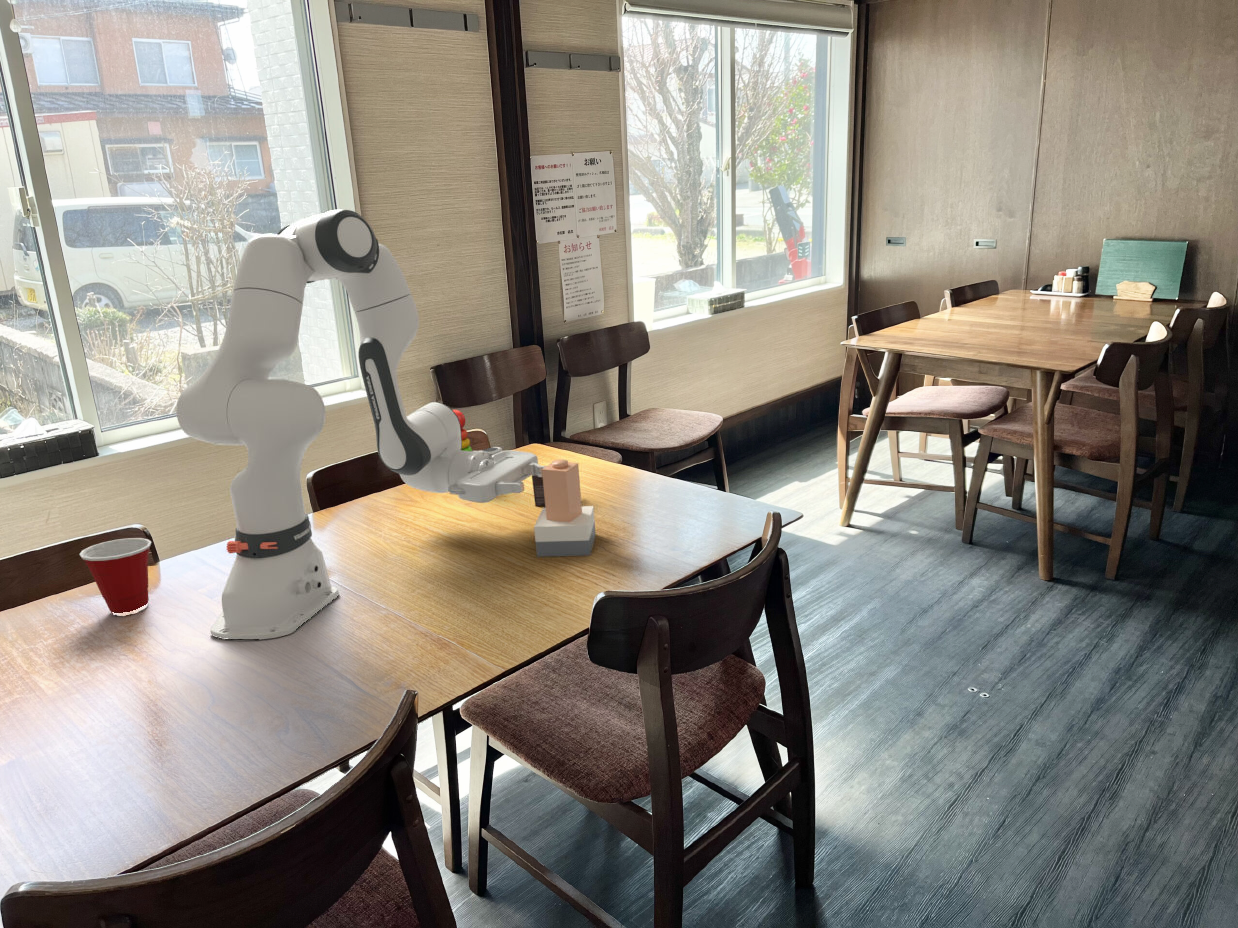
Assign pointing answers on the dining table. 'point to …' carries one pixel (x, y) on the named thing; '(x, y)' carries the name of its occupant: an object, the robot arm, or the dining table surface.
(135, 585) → the plastic cup
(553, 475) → the tall brick
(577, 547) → the tower base
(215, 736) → the dining table surface
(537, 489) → the box
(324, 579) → the robot arm
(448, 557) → the dining table surface
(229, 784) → the dining table surface
